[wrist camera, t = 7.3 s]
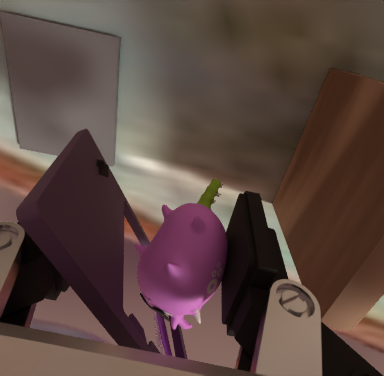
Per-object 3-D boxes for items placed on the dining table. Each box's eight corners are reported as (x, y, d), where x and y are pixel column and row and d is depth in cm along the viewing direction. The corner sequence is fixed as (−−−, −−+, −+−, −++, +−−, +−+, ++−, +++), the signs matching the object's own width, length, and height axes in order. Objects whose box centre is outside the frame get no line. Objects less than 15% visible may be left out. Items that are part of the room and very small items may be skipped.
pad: (120, 37, 19) (118, 37, 18) (114, 163, 24) (112, 166, 23) (5, 12, 18) (-1, 11, 18) (24, 145, 23) (19, 148, 23)
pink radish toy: (-31, 232, 4) (170, 445, 8) (256, 112, 5) (316, 375, 9) (60, 138, 10) (152, 289, 14) (182, 88, 11) (239, 250, 15)
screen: (356, 73, 19) (531, 124, 9) (292, 208, 25) (351, 331, 15) (330, 68, 19) (475, 111, 9) (272, 204, 25) (316, 325, 15)
